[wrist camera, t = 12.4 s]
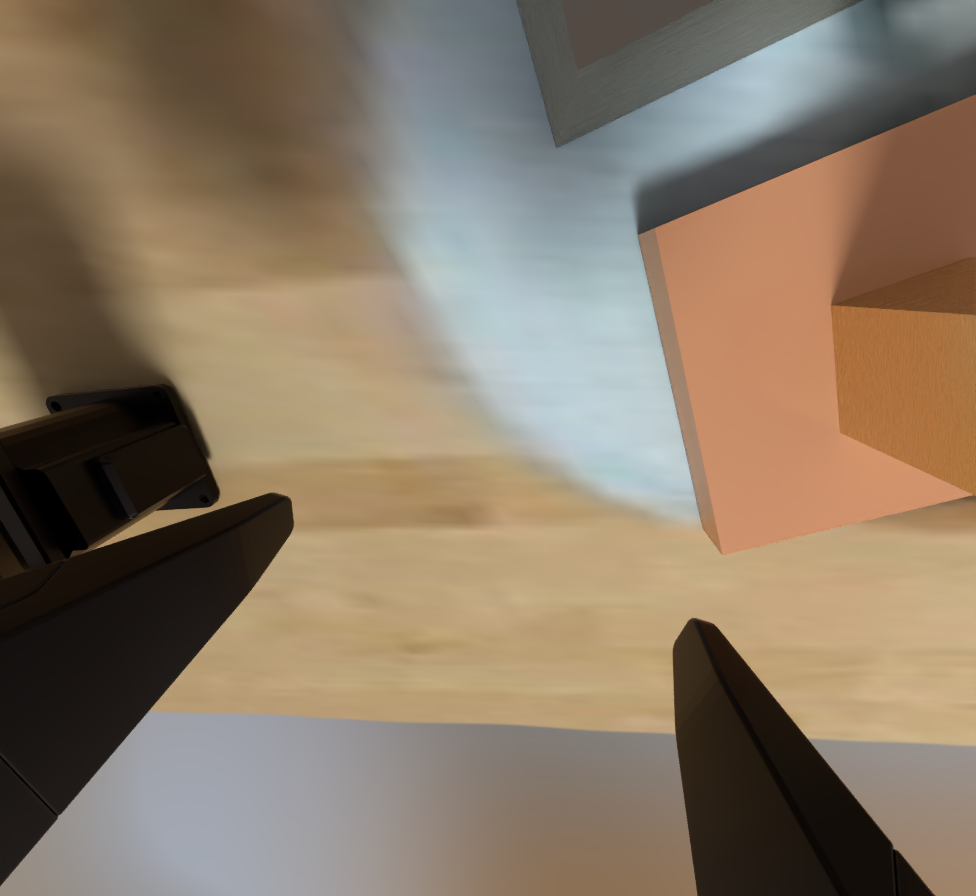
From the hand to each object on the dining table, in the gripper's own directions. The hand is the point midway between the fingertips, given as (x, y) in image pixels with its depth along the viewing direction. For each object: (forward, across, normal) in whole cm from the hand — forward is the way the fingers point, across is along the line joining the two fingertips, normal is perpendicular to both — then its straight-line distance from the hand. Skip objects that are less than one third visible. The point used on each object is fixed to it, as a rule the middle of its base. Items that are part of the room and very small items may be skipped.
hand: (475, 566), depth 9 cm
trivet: (+13, -12, -5) cm, 18 cm away
